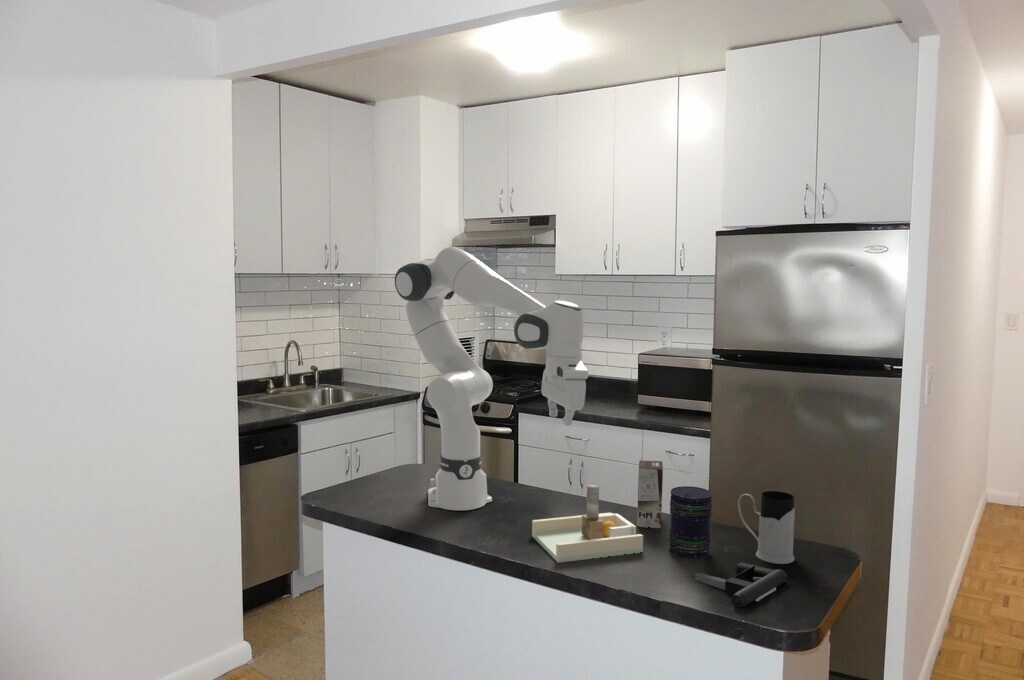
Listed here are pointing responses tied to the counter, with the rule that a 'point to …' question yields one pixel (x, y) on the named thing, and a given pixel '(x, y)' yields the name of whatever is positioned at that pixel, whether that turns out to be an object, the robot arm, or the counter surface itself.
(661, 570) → the counter surface
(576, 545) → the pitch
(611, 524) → the ball
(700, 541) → the storage jar
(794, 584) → the counter surface
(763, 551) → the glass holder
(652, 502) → the coffee box
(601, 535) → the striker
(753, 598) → the door handle
